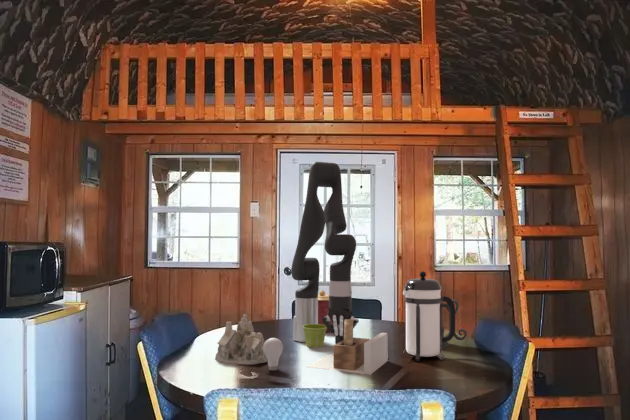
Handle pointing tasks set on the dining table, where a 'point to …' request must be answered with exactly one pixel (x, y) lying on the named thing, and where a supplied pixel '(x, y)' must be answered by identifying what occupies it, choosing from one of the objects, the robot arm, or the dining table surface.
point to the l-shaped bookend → (372, 357)
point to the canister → (323, 307)
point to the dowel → (348, 332)
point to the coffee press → (425, 317)
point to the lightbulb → (273, 352)
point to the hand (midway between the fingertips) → (340, 346)
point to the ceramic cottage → (241, 344)
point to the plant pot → (314, 335)
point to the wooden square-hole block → (349, 354)
